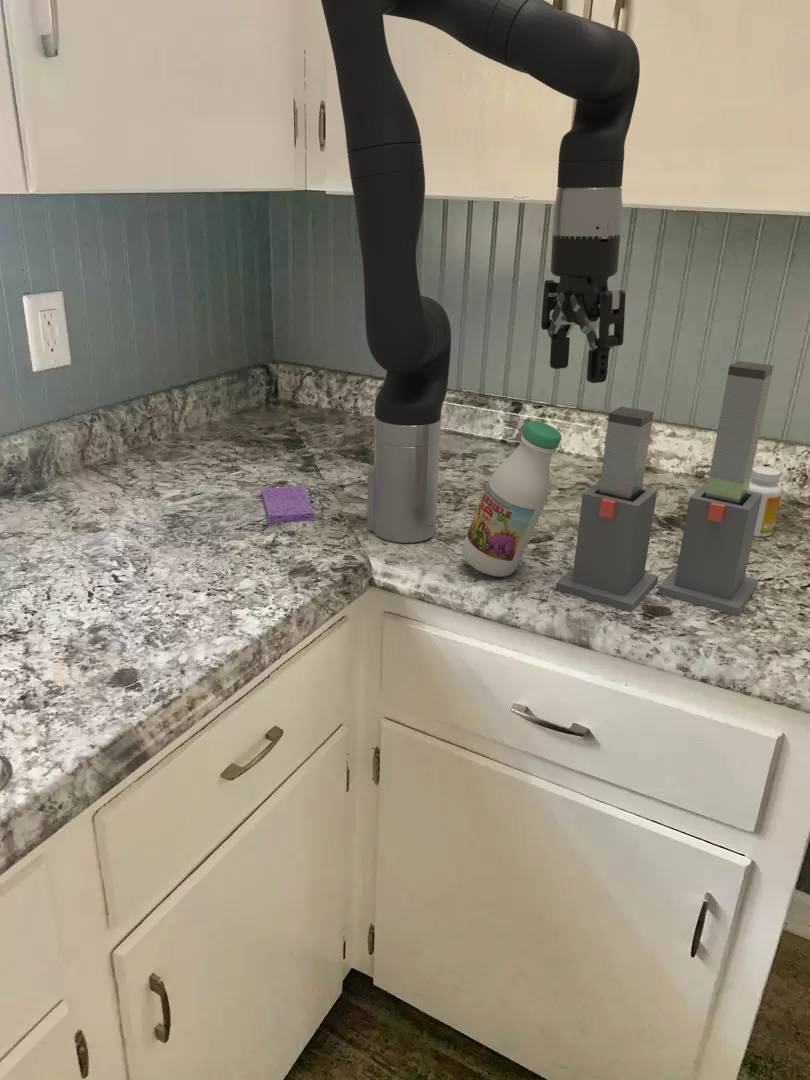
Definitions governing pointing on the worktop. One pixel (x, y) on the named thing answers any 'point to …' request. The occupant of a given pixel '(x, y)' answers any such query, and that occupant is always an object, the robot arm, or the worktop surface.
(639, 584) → the stand
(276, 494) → the sponges
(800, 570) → the worktop surface
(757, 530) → the supplement bottle
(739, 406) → the column
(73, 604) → the worktop surface
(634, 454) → the column
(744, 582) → the stand
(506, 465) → the milk bottle
